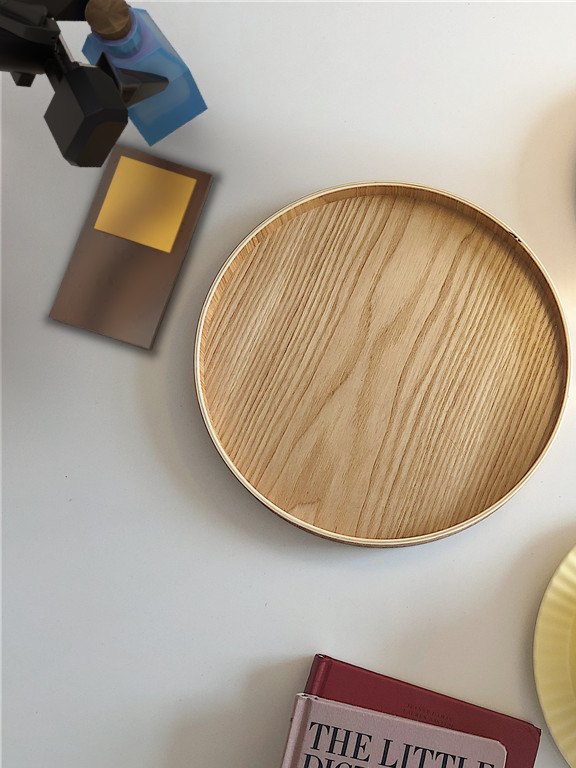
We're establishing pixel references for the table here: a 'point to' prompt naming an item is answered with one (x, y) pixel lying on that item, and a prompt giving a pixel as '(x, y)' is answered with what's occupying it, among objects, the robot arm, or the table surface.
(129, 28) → the perfume bottle
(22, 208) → the table surface
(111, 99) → the robot arm
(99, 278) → the stand
